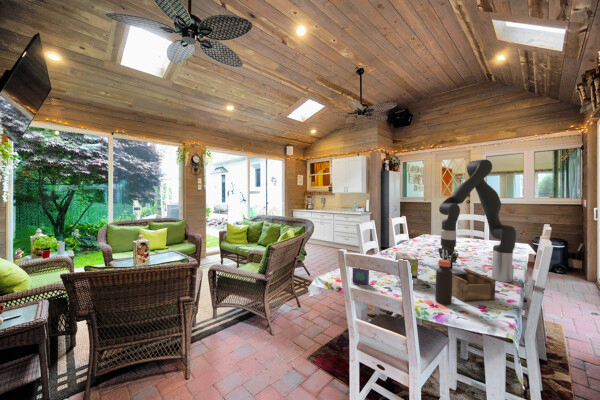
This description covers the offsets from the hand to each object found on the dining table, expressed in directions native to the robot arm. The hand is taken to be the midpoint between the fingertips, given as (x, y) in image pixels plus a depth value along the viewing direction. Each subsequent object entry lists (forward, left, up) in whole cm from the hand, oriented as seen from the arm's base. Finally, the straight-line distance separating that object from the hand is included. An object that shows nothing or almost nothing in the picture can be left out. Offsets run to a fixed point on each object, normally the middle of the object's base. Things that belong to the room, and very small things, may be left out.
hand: (447, 267), depth 142 cm
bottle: (+18, +21, -10) cm, 29 cm away
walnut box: (0, +13, -9) cm, 16 cm away
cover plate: (0, 0, -1) cm, 1 cm away
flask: (+50, -5, -10) cm, 51 cm away
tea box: (+20, -9, -10) cm, 24 cm away
